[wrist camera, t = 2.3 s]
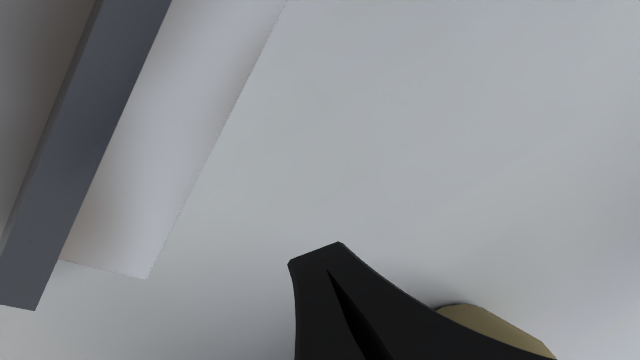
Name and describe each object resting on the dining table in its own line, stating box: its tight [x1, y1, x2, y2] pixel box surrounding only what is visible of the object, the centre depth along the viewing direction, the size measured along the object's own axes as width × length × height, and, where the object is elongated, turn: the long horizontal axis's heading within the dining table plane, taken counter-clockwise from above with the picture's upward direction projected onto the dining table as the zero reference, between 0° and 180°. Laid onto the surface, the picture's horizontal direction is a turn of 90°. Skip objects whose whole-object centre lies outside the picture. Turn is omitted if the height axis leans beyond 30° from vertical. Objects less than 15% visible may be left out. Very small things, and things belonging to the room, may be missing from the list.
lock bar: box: [0, 0, 172, 311], centre depth 13 cm, size 14×3×4 cm, turn 150°
